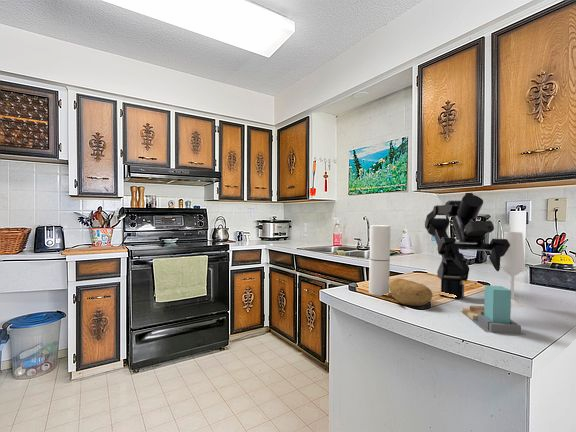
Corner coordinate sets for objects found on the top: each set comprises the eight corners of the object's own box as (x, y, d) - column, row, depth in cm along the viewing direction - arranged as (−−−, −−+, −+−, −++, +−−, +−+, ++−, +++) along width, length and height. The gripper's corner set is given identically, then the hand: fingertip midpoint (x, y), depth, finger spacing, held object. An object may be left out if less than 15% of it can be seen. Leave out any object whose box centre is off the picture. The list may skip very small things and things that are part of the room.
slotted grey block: (460, 314, 90) (460, 304, 90) (493, 316, 88) (494, 306, 88) (485, 335, 74) (486, 323, 74) (526, 339, 73) (527, 326, 73)
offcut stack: (462, 311, 90) (462, 303, 89) (492, 313, 88) (492, 305, 88) (472, 319, 83) (473, 311, 83) (505, 321, 81) (505, 313, 81)
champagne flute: (529, 306, 98) (531, 232, 98) (514, 308, 96) (516, 233, 96) (508, 300, 104) (510, 231, 104) (494, 302, 102) (495, 231, 102)
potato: (420, 314, 89) (421, 287, 89) (382, 302, 101) (382, 278, 101) (439, 309, 94) (440, 283, 94) (401, 297, 106) (401, 275, 106)
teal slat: (483, 322, 81) (484, 285, 80) (500, 323, 80) (501, 286, 80) (492, 329, 76) (493, 289, 76) (510, 330, 75) (511, 290, 75)
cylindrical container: (365, 292, 112) (366, 225, 111) (375, 289, 117) (376, 224, 116) (382, 297, 107) (384, 226, 106) (392, 293, 112) (394, 225, 111)
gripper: (441, 211, 94) (453, 251, 83) (507, 212, 91) (529, 253, 80) (432, 235, 101) (443, 274, 91) (493, 236, 98) (512, 277, 88)
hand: (480, 269), depth 87 cm, fingers open, 9 cm apart
